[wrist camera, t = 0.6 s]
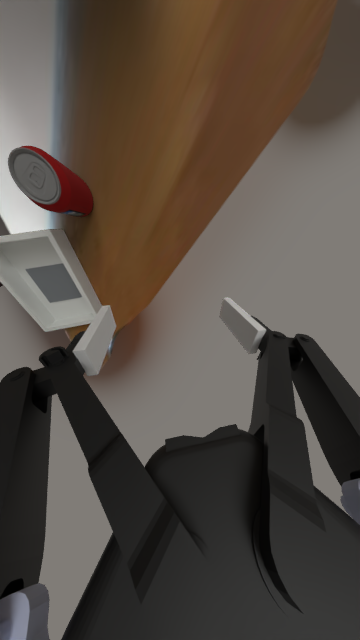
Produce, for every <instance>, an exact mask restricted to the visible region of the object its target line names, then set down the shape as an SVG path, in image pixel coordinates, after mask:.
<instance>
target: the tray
mask: <svg viewBox="0 0 360 640" xmlns="http://www.w3.org/2000/svg"><path fill="white" fill-rule="evenodd" d="M0 282H1V283H2V284H3V285H4V286H5V287H6V289H7V290H8V291H9V292H10V293H11V294H12V295H13V296H14V298H15V299H16V300H17V301H18V302H19V303H20V304H21V305H22V306H23V308H24V309H25V310H26V311H27V312H28V313H29V314H30V315H31V317H32V318H33V319H34V320H35V321H36V322H37V323H38V324H39V326H40V327H41V328H42V329H43V330H44V331H45V332H48V331H53V330H58V329H64V328H69V327H74V326H79V325H84V324H90V323H91V322H92V321H93V319H94V318H95V316H96V315H97V313H98V312H99V310H100V309H101V307H102V305H101V303H100V301H99V299H98V297H97V295H96V293H95V291H94V289H93V287H92V285H91V283H90V281H89V279H88V277H87V275H86V273H85V271H84V269H83V267H82V265H81V264H80V262H79V260H78V258H77V256H76V254H75V252H74V250H73V248H72V246H71V244H70V242H69V240H68V238H67V236H66V234H65V232H64V230H63V229H48V230H40V231H33V232H26V233H19V234H11V235H4V236H0Z"/></svg>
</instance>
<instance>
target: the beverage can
mask: <svg viewBox="0 0 360 640" xmlns="http://www.w3.org/2000/svg"><path fill="white" fill-rule="evenodd" d="M8 166H9V170H10V173H11V176H12V178H13V180H14V181H15V183H16V184H17V186H18V187H19V188H20V189H21V191H22V192H23V193H24V194H25V195H26V196H27V197H28V198H29V199H30V200H32V201H33V202H34V203H35V204H37V205H38V206H40V207H41V208H43V209H46V210H49V211H53V212H58V213H63V214H68V215H73V216H80V217H83V216H86V215H88V214H89V213H90V212H91V211H92V208H93V197H92V194H91V191H90V189H89V188H88V186H87V185H86V183H85V182H84V181H83V180H82V179H81V178H80V177H78V176H77V175H76V174H75V173H73V172H72V171H71V170H69V169H68V168H67V167H65V166H64V165H63V164H61V163H60V162H59V161H57V160H56V159H54V158H53V157H52V156H50V155H49V154H47V153H46V152H45V151H43V150H41V149H39V148H36V147H33V146H22V147H20V148H16V149H14V150H13V151H12V152H11V153H10V155H9V158H8Z"/></svg>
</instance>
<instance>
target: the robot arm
mask: <svg viewBox="0 0 360 640" xmlns="http://www.w3.org/2000/svg"><path fill="white" fill-rule="evenodd" d="M220 318H221V319H222V321H223V322H224V323H225V325H226V326H227V327H228V328H229V330H230V331H231V332H232V333H233V335H234V336H235V337H236V339H237V340H238V341H239V342H240V344H241V345H242V346H243V348H244V349H245V350H246V351H247V353H248V354H253V353H256V352H257V349H259V350H260V351H261V352H260V354H259V356H258V358H257V360H258V359H259V362H258V370H257V379H256V386H255V395H254V402H253V411H252V419H251V425H250V428H249V431H248V432H246V431H243V430H240V429H238V428H237V425H236V424H234V425H229V426H225V427H220V428H218V429H217V430H215V431H213V432H212V433H210V434H209V435H207V436H206V437H203V438H202V437H193V436H184V435H183V436H179V437H174V438H170V439H166V440H165V442H166V444H165V445H164V446H162V447H161V448H159V449H158V450H157V451H156V452H155V453H154V454H153V455H152V457H151V458H150V459H149V461H148V462H147V464H146V466H145V468H144V466H143V465H142V463H141V462H140V460H139V459H138V457H137V456H136V454H135V453H134V451H133V450H132V448H131V447H130V445H129V444H128V443H127V441H126V439H125V438H124V436H123V435H122V434H121V432H120V431H119V429H118V428H117V426H116V425H115V423H114V422H113V420H112V419H111V417H110V416H109V414H108V413H107V411H106V410H105V408H104V407H103V406H102V404H101V402H100V401H99V399H98V398H97V396H96V395H95V393H94V392H93V390H92V389H91V387H90V386H89V384H88V383H87V382H86V380H85V379H84V377H83V374H84V372H85V373H86V374H87V376H92V375H98V374H99V371H100V368H101V366H102V363H103V360H104V357H105V355H106V352H107V349H108V347H109V344H110V341H111V339H112V336H113V333H114V330H115V328H116V324H115V321H114V318H113V314H112V311H111V308H110V305H109V306H102V307H101V309H100V310H99V312H98V313H97V315H96V316H95V318H94V319H93V321H92V322H91V324H90V325H89V327H88V328H87V330H86V331H82V332H80V333H79V334H77V335H76V336H75V337H74V339H73V341H72V342H71V343H70V344H69V346H68V347H67V349H66V350H65V348H63V347H54V348H51V349H49V350H47V351H45V352H44V353H42V354H41V355H40V357H39V361H40V362H41V363H42V364H43V365H44V368H40V369H38V370H34V371H32V370H31V369H30V368H29V367H23V368H19V369H16V370H14V371H12V372H11V373H9V374H7V375H6V376H5V377H4V378H3V379H2V380H1V382H0V640H50V639H49V635H48V628H47V624H48V611H49V594H48V590H47V588H46V587H45V585H43V584H40V583H38V582H39V576H40V570H41V565H42V559H43V551H44V541H45V527H46V505H47V486H48V485H47V484H48V465H49V443H50V423H51V401H52V395H54V394H56V393H57V394H58V397H59V399H60V401H61V403H62V406H63V408H64V410H65V412H66V415H67V417H68V419H69V421H70V424H71V426H72V428H73V430H74V433H75V435H76V437H77V440H78V442H79V444H80V446H81V449H82V451H83V453H84V455H85V457H86V460H87V462H88V466H89V467H88V472H89V476H90V478H91V481H92V483H93V485H94V488H95V490H96V492H97V495H98V497H99V499H100V502H101V504H102V507H103V509H104V511H105V513H106V516H107V518H108V520H109V523H110V525H111V527H112V530H113V533H112V535H111V537H110V540H109V542H108V544H107V546H106V548H105V550H104V552H103V554H102V556H101V558H100V560H99V562H98V565H97V566H96V569H95V571H94V573H93V575H92V577H91V579H90V581H89V583H88V585H87V587H86V589H85V591H84V593H83V595H82V598H81V599H80V602H79V604H78V606H77V608H76V610H75V612H74V614H73V616H72V618H71V620H70V622H69V624H68V626H67V628H66V630H65V633H64V635H63V637H62V639H61V640H360V397H359V396H358V395H357V394H356V392H355V391H354V390H353V388H352V387H351V386H350V385H349V383H348V382H347V381H346V380H345V378H344V377H343V376H342V375H341V373H340V372H339V371H338V369H337V368H336V367H335V366H334V364H333V363H332V362H331V361H330V359H329V358H328V357H327V356H326V354H325V353H324V352H323V350H322V349H321V348H320V347H319V345H318V344H317V343H316V342H315V341H314V340H313V338H311V337H309V336H307V335H304V334H296V336H295V337H294V338H288V337H286V336H285V335H284V334H282V333H280V332H276V331H271V330H270V329H269V328H268V327H266V326H265V325H264V324H263V323H262V322H260V321H259V320H258V319H257V318H255V317H253V316H250V315H249V314H247V313H246V312H245V311H244V310H243V309H242V308H241V307H239V306H238V305H237V304H236V303H235V302H234V301H232V300H231V299H230V298H229V297H228V298H223V302H222V307H221V312H220ZM292 381H293V383H294V385H295V387H296V390H297V392H298V395H299V397H300V399H301V401H302V404H303V406H304V408H305V411H306V413H307V415H308V418H309V420H310V422H311V425H312V427H313V429H314V432H315V434H316V436H317V439H318V441H319V443H320V445H321V448H322V450H323V453H324V455H325V457H326V459H327V461H328V463H329V465H330V467H331V469H332V471H333V473H334V475H335V476H336V478H337V480H338V482H339V483H340V485H341V487H342V493H343V496H341V503H342V506H343V507H344V509H345V510H346V512H347V513H348V514H349V515H350V516H351V517H352V518H353V519H352V518H351V517H350V516H349V515H348V514H346V513H345V512H344V511H343V510H342V509H341V508H339V507H338V506H337V505H336V504H335V503H334V502H332V501H331V500H330V499H329V498H328V497H326V496H325V495H324V494H323V493H322V492H321V491H319V490H318V489H317V488H316V487H315V486H314V485H313V480H312V473H311V467H310V460H309V454H308V447H307V440H306V434H305V427H304V424H303V422H302V420H300V419H298V418H297V417H296V409H295V401H294V393H293V384H292Z"/></svg>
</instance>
